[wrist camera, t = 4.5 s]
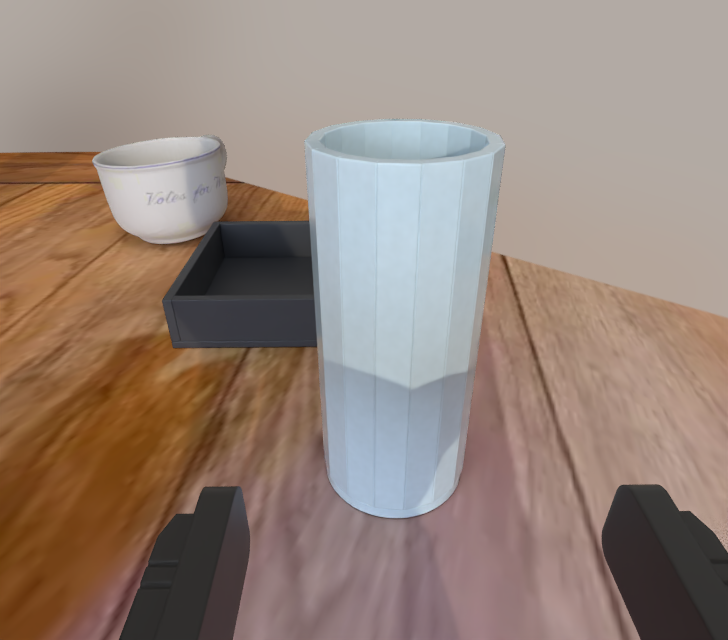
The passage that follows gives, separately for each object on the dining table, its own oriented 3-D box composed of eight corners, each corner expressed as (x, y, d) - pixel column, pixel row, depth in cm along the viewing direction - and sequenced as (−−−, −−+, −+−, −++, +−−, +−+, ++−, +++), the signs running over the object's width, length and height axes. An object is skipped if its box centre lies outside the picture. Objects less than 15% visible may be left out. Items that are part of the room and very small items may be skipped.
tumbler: (299, 483, 24) (265, 147, 16) (366, 402, 29) (364, 113, 21) (429, 542, 21) (465, 174, 13) (478, 442, 26) (526, 128, 18)
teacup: (164, 265, 44) (143, 169, 39) (90, 238, 49) (64, 150, 45) (277, 216, 53) (270, 135, 49) (205, 198, 59) (193, 123, 54)
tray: (172, 348, 33) (161, 300, 31) (220, 260, 44) (213, 221, 43) (379, 346, 33) (380, 298, 31) (374, 258, 44) (374, 220, 43)
